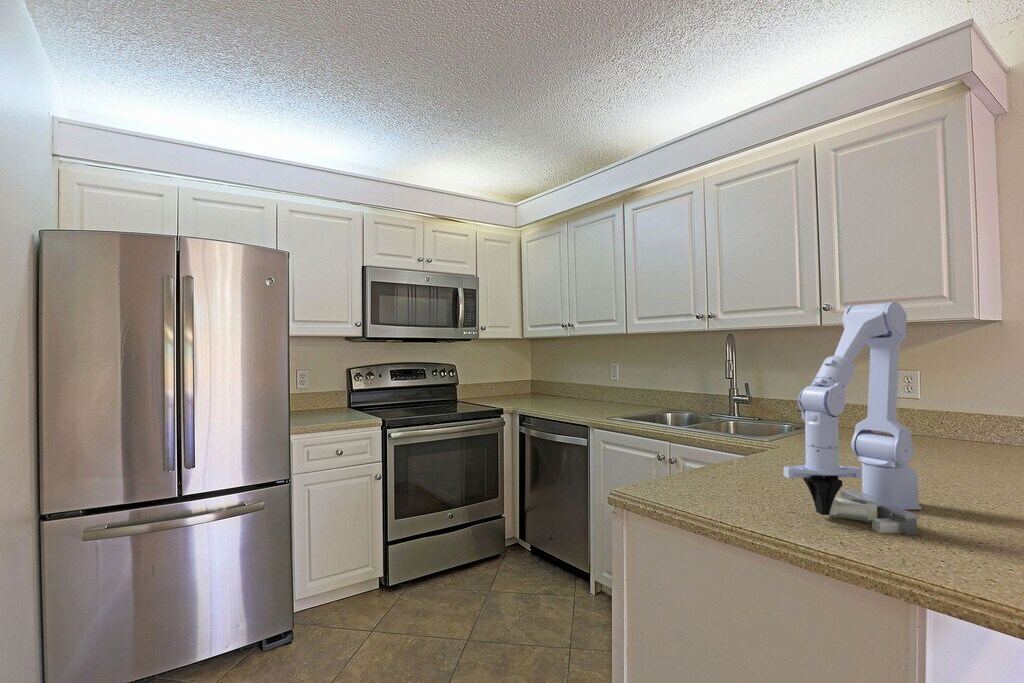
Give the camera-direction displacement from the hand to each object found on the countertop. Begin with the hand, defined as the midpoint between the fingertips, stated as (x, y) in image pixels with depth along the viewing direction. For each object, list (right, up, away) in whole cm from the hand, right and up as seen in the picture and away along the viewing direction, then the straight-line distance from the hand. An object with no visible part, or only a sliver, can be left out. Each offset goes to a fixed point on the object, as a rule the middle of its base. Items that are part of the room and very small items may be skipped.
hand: (822, 513), depth 100 cm
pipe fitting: (+6, -1, +1) cm, 6 cm away
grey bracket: (+9, -1, 0) cm, 9 cm away
